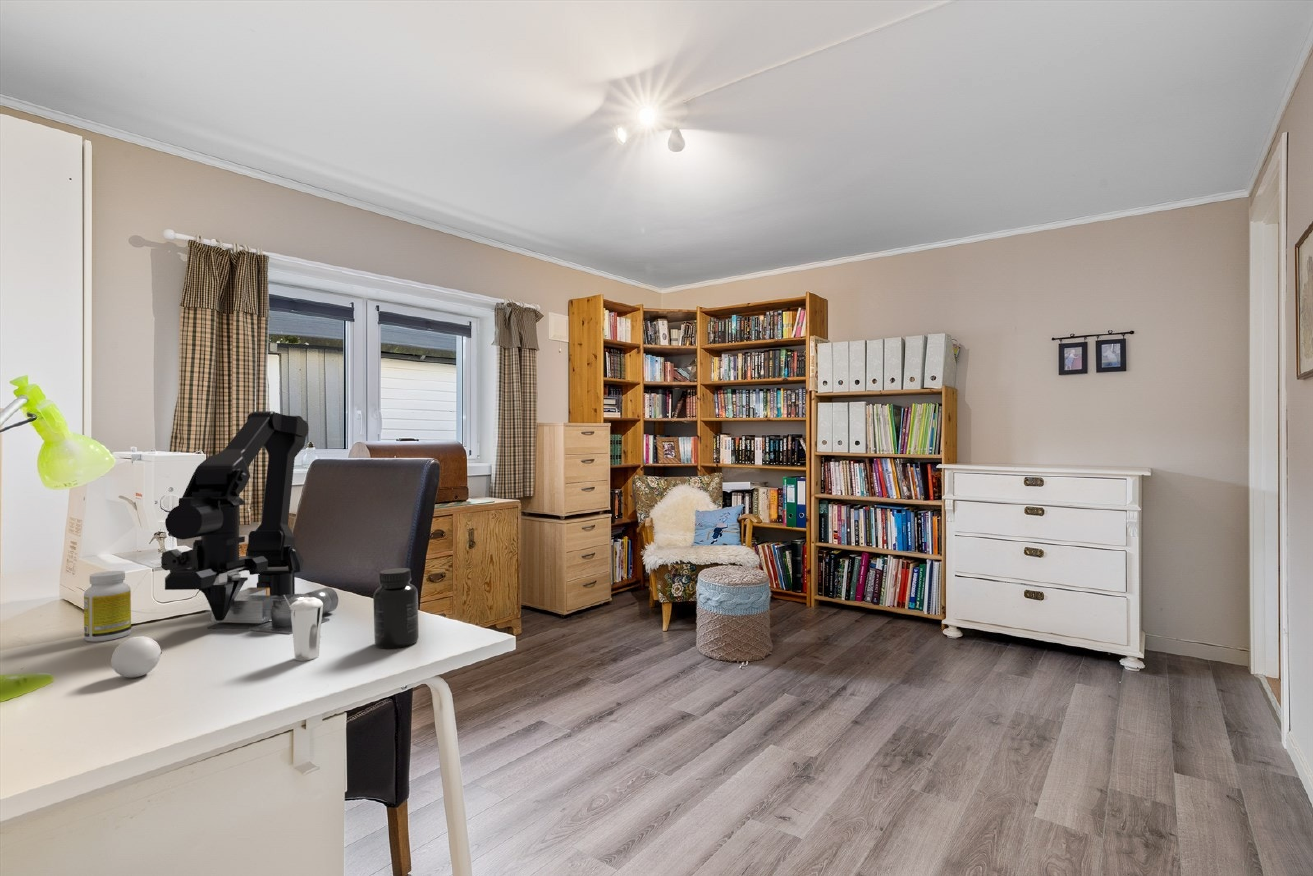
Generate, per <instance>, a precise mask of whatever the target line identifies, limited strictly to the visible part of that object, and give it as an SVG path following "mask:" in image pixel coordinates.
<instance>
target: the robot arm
mask: <svg viewBox="0 0 1313 876" xmlns="http://www.w3.org/2000/svg"><path fill="white" fill-rule="evenodd" d="M309 431H310V429H309V423H308V422H307V421H306V420H304V419H303V417H302V416H301V415H286V414H283V413H279V412H275V411H273V410H271V411H265V410H264V411H262V410H260V411H259V410H258V411H257V410H256V411H253V412H250V413H248V416H247V419H246V422H245V423H244V424H243V426H241V428H240V429H239V430H238V431H237V433H236V434H235V435H234V437H232V439H231V441H229V443H228V444H227V445H226V447H225V448H224V449H223V450H222V451H221V452H218V453H216V454H213V455H210V456H209V457H207V458H206V459H205V460H203V461H202V462H201V463H199V465H198V466H197V467H196V468H195V469H194V472H193V473H192V476H191V478H190V480H189V482H188V483H187V486H186V489H185V490H184V492H183V495H182V497H179V498H178V505H176V506H175V507H173V508H172V509H171V510H170V511H169V512H168V514H167V516H166V518H165V523H164V524H165V529H166V531H167V533H169V535H170V536H171V537H173V538H174V539H178V540H183V541H184V540H189V539H194V541H193V543H192V549H191V548H190V549H189V550H186V551H185V550H184V551H180V550H179V549H177V548H174V549H170V550H167V551H164V552H162V553H161V559H160V560H161V561H160V564H161V565H160V567H161V569H163V570H164V571H169V573H168V574H167V575H166V576H165V577H164V590H165V591H174V590H175V591H177V590H178V591H179V590H181V591H182V590H183V591H184V590H185V591H187V590H189V591H192V590H199V591H200V592H201V593H202V594H203V595H204V597H205V598H206V600H207V603H208V605H209V607H210V609H211V610H212V612H213V615H214V617H215V620H216V621H222V620H224V619H225V617H226V615H227V613H228V611H229V609H230V607H231V605H232V603H233V601H234V600H235V598H236V596H237V594H238V592H239V591H241V590H242V588H243V586H244V584H245V582H246V581H248V580H249V577H244V576H243V577H241V573H240V572H244V571H247V572H248V573H249V575H251V576H252V575H257V582H256V588H270V596H282V595H289V594H296V587H295V585H296V579H295V576H296V575H295V574H296V573H301V572H302V570H303V567H304V558H303V556H302V555H301V553H300V552H299V550H298V548H297V547H296V536H295V534H294V533H293V531H292V529H291V528H290V526H289V519H290V518H289V517H290V507H291V497H292V487H293V481H294V480H293V478H294V477H293V476H294V471H295V469H294V468H295V460H296V459H295V458H296V457H297V456H298V454H299V453H300V452H301V451H302V450H303V449H304V447H305V444H306V440H307V436H308V434H309ZM263 447H264V448H265V450H266V452H267V455H268V459H267V468H266V478H265V485H264V494H263V495H264V497H263V505H262V512H261V513H262V514H261V521H260V524H259V526H258V527H257V528H256V529H255V530H250V532H249V534H248V542H247V547H246V549H245V555H241V556H240V544H242V543H245V541H246V539H245V538H246V536H241V535H240V506H244V505H245V503H246V502H245V500H244V499H243V498H242V497H240V496H239V495H240V494H241V493H242V492H243V491H244V490H245V488H246V486H247V485H248V482H249V480H250V479H251V472H250V470H249V468H250V466H251V463H252V462H253V461H254V459H255V458H256V457H257V455H258V454H259V452H260V451H261V450H262V449H263ZM199 537H200V538H199ZM196 538H199V539H196Z"/></svg>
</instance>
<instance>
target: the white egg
mask: <svg viewBox="0 0 1313 876" xmlns="http://www.w3.org/2000/svg"><path fill="white" fill-rule="evenodd" d="M162 654H163V652H162V651H161V646H160V644H159V643H158V642H157V641H155V640H154V639H152V638H151V637H149V636H148V637H147V636H144V635H143V636H142V635H141V636H134V637H131V638H128V639H126V640H124V641H122V642H121V643H120V644H119V645H117V646H116V647H115V649H114V651H113V652H112V655H111V660H110V664H111V668H112V669H113V671H114V672H115V673H116V674H118V675H119V676H121V677H122V678H123V677H124V678H132V679H133V678H134V679H135V678H139V677H142V676H145V675H147V674H148V673H151V671H152V670H153V669H154V668H156V667H157V665H158V664H159V662H160V658H161V655H162Z"/></svg>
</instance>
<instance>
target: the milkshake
mask: <svg viewBox="0 0 1313 876" xmlns="http://www.w3.org/2000/svg"><path fill="white" fill-rule="evenodd" d="M284 597H285V595H284ZM285 599H286V597H285ZM286 601H287V603H288V605H289V607H290V614H291V623H292V631H293V633H292V638H293V651H294V659H295V660H296V662H297V661H299V662H305V661H311V660H315V659H316V658H318V657H319V656H320V644H321V629H322V623H321V620H322V618H323V615H322V611H323V602H322V601H321V600H320V599H317V598H315V597H306V598H304V599H300V600H297V601H295V602H294V603H292V604H291V606H290V604H289V602H288V600H287V599H286Z"/></svg>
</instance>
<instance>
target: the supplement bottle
mask: <svg viewBox="0 0 1313 876" xmlns="http://www.w3.org/2000/svg"><path fill="white" fill-rule="evenodd" d="M411 572H412V571H411V569H410V568H408V567H407V568H406V567H404V568H403V567H395V568H388V569H383V570H381V571H380V572H379V574H378V575H379V580H378V581H379V585H380V586H379V587H378V588H377V589H376V590H375V592H374V593H373V596H372V597H373V630H374V631H373V636H374V644H375V646H376V647H377V648H378V649H384V650H389V649H390V650H393V649H399V648H405V647H408V646H411V645H413V644H415V643H416V642H417V641H418V640H419V638H420V635H419V634H420V633H419V632H420V631H419V598H418V597H419V595H418V594H419V593H418V588H417V587H416V586H415V585H414V584H412V583H410V582H411V581H412V575H411Z"/></svg>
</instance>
